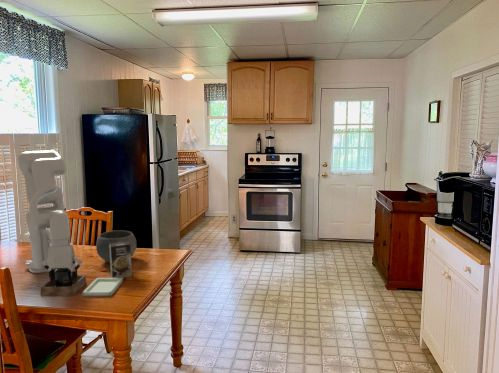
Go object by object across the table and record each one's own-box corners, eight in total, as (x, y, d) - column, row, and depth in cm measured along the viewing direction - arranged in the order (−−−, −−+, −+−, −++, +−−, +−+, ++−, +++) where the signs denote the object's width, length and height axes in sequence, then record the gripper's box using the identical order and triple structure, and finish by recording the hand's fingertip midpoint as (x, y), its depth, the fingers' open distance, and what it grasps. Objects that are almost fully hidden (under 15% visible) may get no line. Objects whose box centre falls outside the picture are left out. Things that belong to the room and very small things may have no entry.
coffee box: (112, 279, 181) (110, 246, 178) (110, 275, 186) (108, 243, 184) (132, 276, 185) (130, 244, 183) (129, 272, 191) (128, 240, 188)
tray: (82, 296, 163) (82, 292, 163) (97, 281, 179) (96, 277, 179) (110, 296, 163) (110, 292, 163) (122, 281, 179) (122, 277, 179)
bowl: (111, 270, 192) (110, 242, 190) (89, 262, 205) (87, 235, 202) (144, 259, 208) (143, 233, 206) (122, 252, 221) (120, 227, 218)
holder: (40, 296, 163) (40, 287, 162) (56, 283, 177) (56, 275, 176) (72, 296, 163) (72, 287, 163) (86, 283, 177) (85, 275, 176)
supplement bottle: (75, 286, 174) (73, 260, 172) (69, 292, 167) (67, 266, 165) (59, 287, 173) (57, 261, 171) (53, 293, 166) (51, 266, 164)
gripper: (36, 244, 163) (39, 282, 165) (76, 244, 163) (79, 282, 165) (45, 239, 170) (48, 276, 173) (84, 239, 170) (86, 275, 173)
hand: (63, 279), depth 169 cm, fingers open, 9 cm apart
